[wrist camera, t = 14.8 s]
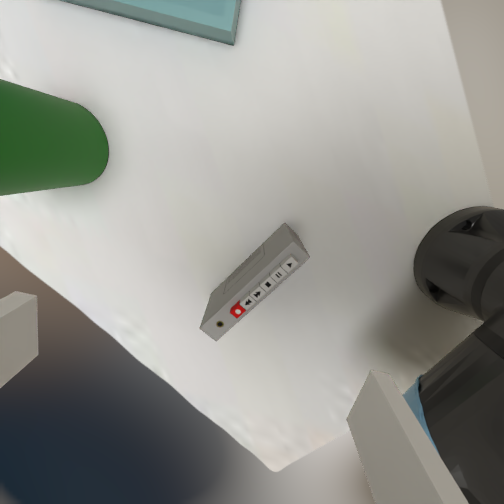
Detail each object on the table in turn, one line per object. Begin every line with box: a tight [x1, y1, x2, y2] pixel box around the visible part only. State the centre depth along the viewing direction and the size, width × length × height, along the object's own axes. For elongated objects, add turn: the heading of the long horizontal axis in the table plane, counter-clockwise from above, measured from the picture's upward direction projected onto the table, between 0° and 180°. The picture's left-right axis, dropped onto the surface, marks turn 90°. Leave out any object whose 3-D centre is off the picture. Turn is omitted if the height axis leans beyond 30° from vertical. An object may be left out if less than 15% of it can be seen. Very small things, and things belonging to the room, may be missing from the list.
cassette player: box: [200, 223, 310, 341], centre depth 35 cm, size 16×3×10 cm, turn 136°
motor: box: [0, 79, 108, 196], centre depth 25 cm, size 10×9×20 cm
